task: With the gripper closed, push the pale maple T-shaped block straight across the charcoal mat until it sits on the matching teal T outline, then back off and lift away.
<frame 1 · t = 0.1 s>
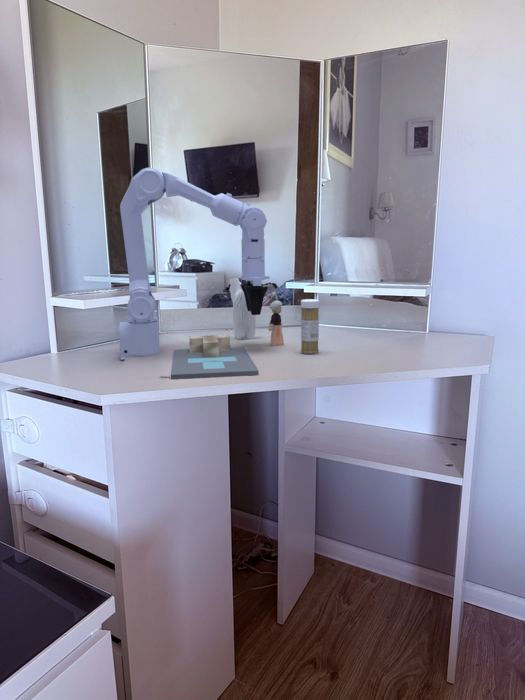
hand: (253, 312, 123), 10 cm above the table, tool pointing down, fingers open, 7 cm apart
maple T block: (210, 353, 119), point 1 cm above the table, touching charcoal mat
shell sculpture: (245, 341, 140), on the table
sprinkles bottle: (309, 353, 123), on the table
grandmother figurine: (276, 348, 130), on the table
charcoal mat: (212, 363, 112), on the table
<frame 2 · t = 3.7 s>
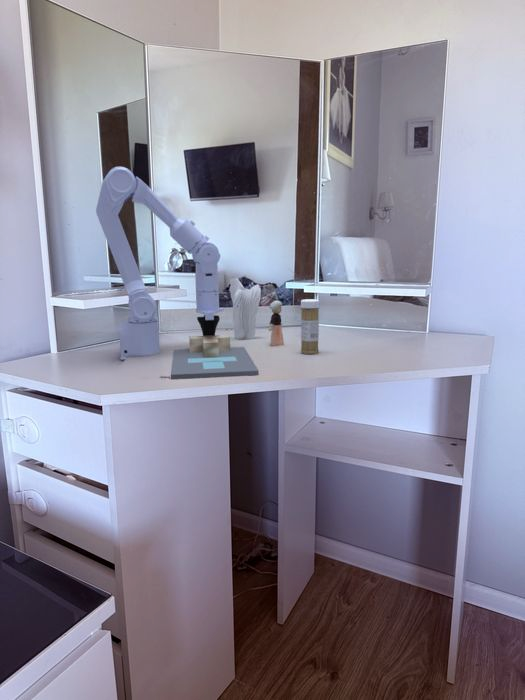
hand: (209, 344, 125), 2 cm above the table, tool pointing down, fingers closed
maple T block: (210, 353, 119), point 1 cm above the table, touching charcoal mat, gripper
everything else where it was.
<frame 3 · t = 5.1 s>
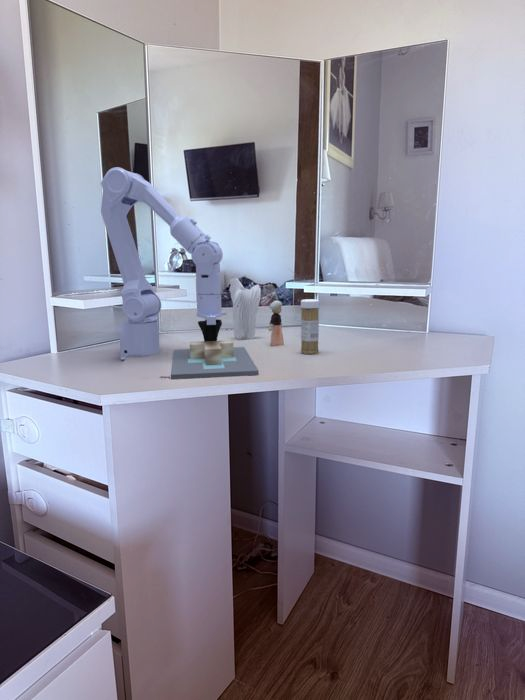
hand: (210, 350, 117), 2 cm above the table, tool pointing down, fingers closed
maple T block: (212, 360, 111), point 1 cm above the table, touching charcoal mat, gripper
everything else where it was.
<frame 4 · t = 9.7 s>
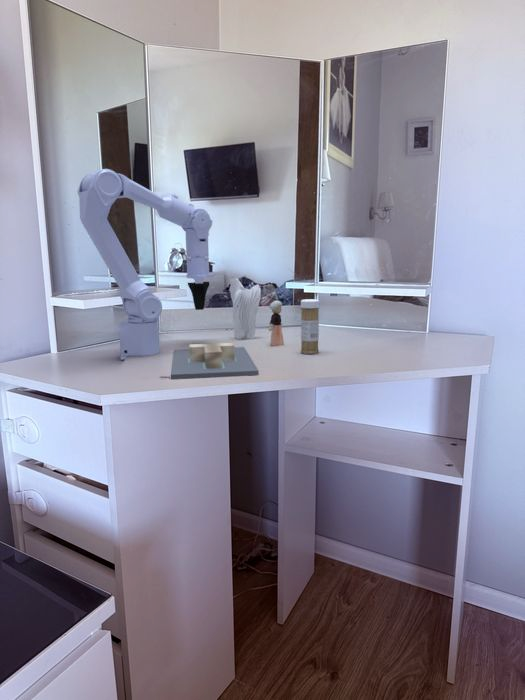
hand: (199, 309, 128), 10 cm above the table, tool pointing down, fingers closed
maple T block: (212, 363, 108), point 1 cm above the table, touching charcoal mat
everything else where it was.
at the end: maple T block 0.3 cm from the target spot, point 1.0 cm above the table; maple T block tilted 0° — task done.
